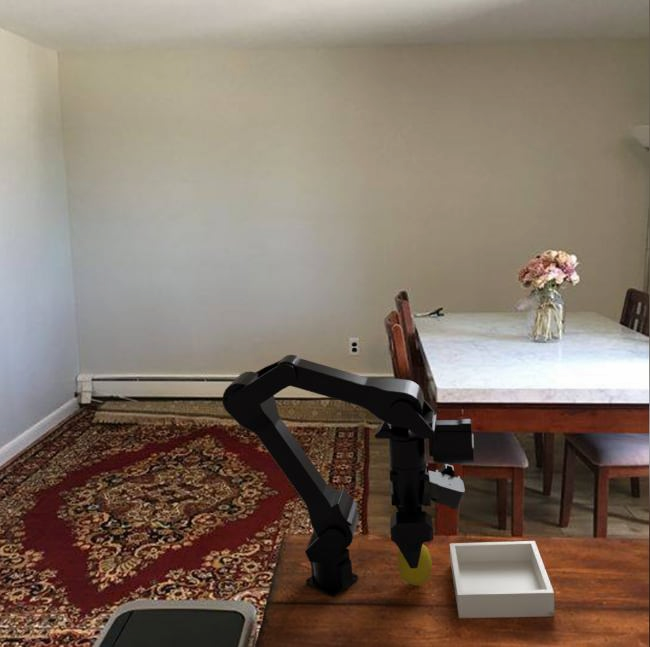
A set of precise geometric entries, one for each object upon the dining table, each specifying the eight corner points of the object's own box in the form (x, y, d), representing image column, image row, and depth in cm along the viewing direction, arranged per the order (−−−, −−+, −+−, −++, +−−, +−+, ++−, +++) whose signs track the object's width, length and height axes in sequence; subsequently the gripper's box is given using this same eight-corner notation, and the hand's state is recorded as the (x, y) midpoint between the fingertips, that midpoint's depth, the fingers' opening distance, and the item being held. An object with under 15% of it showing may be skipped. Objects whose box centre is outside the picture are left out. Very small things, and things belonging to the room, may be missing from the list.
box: (458, 618, 105) (457, 594, 104) (450, 564, 118) (449, 543, 117) (554, 616, 103) (554, 592, 102) (535, 562, 117) (534, 540, 116)
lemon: (402, 573, 117) (399, 530, 115) (435, 577, 115) (433, 533, 113) (395, 593, 112) (392, 549, 110) (430, 597, 110) (427, 552, 108)
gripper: (466, 488, 99) (470, 585, 102) (454, 436, 117) (458, 520, 120) (387, 491, 100) (394, 586, 104) (388, 438, 118) (393, 521, 122)
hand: (413, 551), depth 112 cm, fingers open, 9 cm apart
